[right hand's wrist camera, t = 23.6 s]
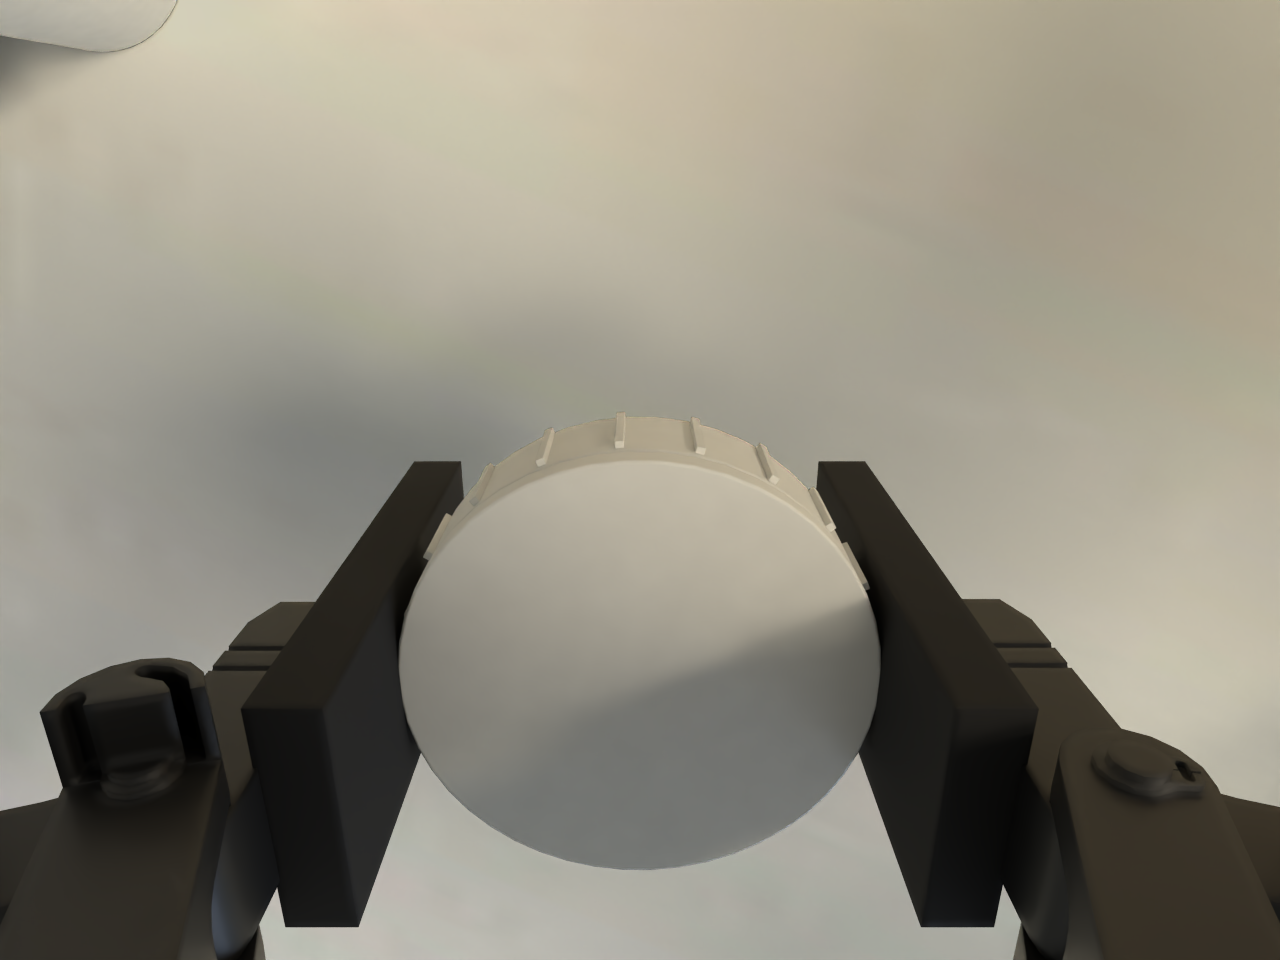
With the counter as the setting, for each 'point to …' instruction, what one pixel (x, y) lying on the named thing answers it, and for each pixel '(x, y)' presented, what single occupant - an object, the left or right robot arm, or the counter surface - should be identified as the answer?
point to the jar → (84, 22)
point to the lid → (639, 646)
